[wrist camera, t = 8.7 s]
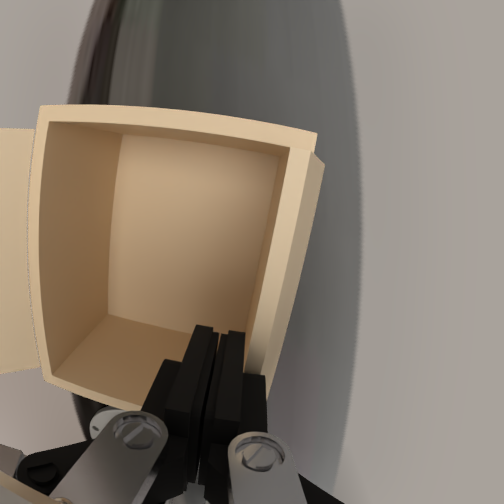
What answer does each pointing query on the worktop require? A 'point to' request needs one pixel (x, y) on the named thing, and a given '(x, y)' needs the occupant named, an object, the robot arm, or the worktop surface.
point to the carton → (146, 237)
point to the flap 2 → (285, 261)
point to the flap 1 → (15, 253)
